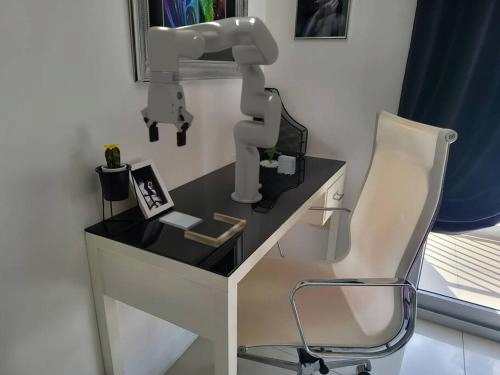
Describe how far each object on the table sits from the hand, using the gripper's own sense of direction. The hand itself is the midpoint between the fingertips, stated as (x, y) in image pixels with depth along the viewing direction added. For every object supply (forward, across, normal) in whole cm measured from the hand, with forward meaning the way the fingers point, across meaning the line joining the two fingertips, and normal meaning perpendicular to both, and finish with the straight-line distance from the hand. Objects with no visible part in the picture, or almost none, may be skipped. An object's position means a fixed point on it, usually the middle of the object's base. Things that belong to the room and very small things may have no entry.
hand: (167, 143), depth 95 cm
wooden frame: (+30, -8, -12) cm, 33 cm away
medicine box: (+30, -3, -86) cm, 91 cm away
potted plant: (+30, +11, -97) cm, 102 cm away
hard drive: (+31, +6, -12) cm, 34 cm away
